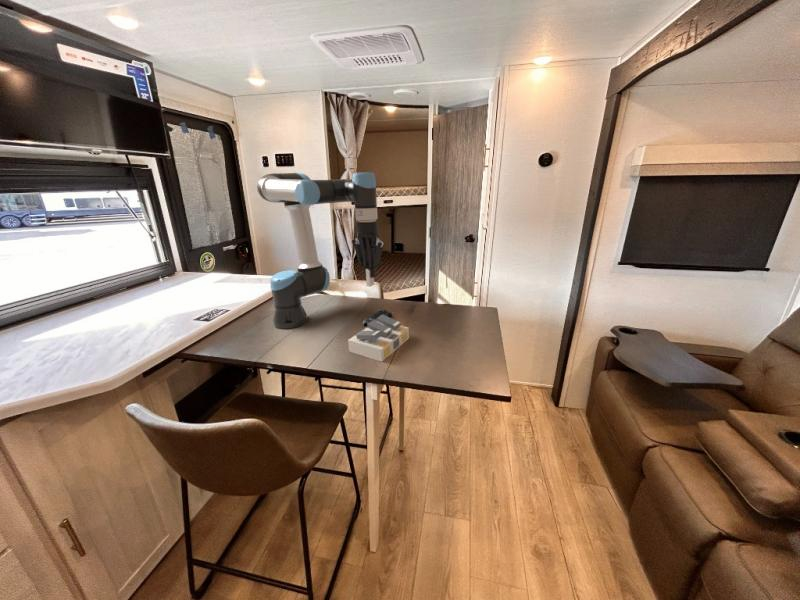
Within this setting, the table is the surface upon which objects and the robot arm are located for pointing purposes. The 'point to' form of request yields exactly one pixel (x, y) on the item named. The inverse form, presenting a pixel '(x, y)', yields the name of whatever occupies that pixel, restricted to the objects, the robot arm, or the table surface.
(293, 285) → the robot arm
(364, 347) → the switch unit
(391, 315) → the electronic device
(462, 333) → the table surface
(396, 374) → the table surface
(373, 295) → the table surface
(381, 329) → the block
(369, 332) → the rocker
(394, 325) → the block
